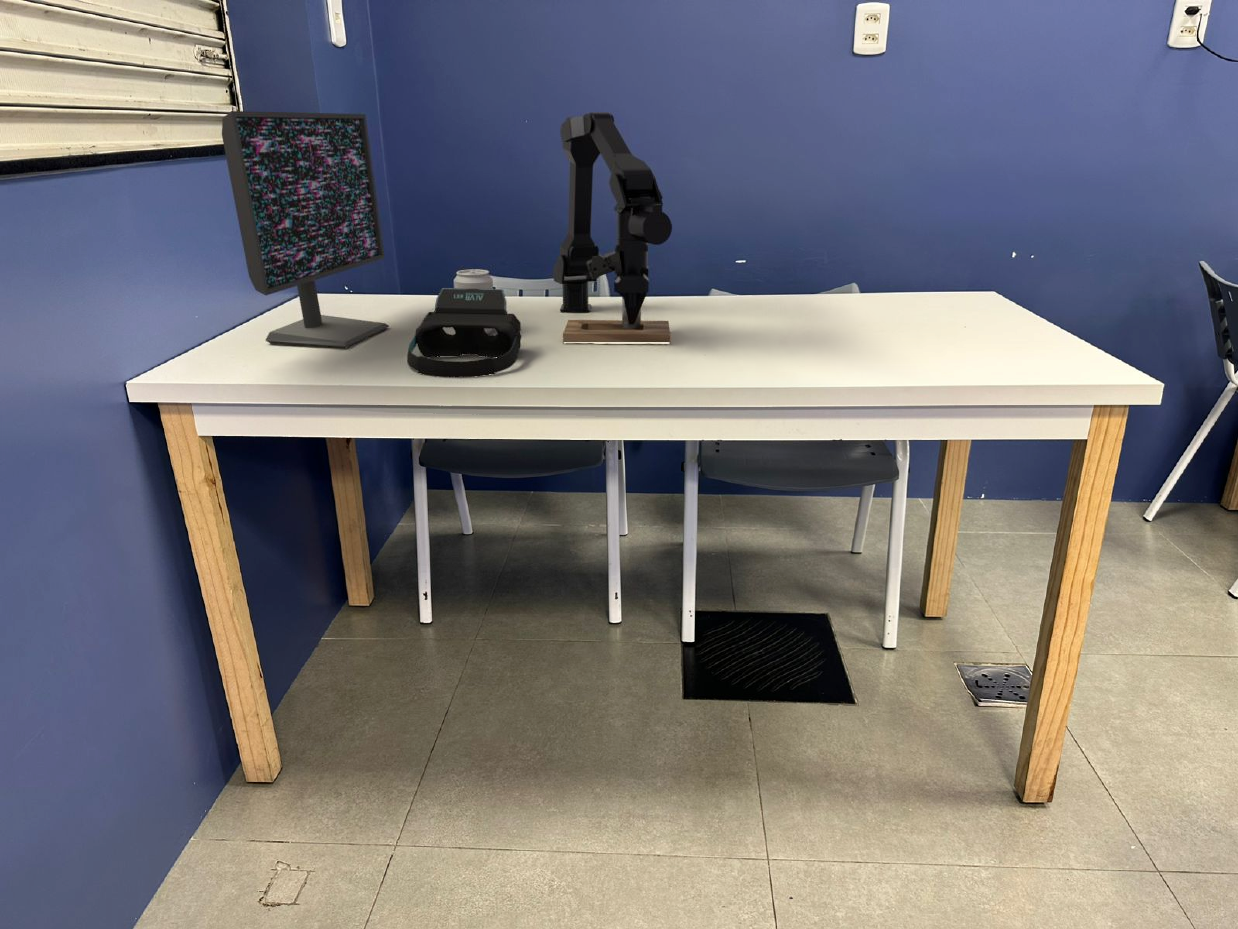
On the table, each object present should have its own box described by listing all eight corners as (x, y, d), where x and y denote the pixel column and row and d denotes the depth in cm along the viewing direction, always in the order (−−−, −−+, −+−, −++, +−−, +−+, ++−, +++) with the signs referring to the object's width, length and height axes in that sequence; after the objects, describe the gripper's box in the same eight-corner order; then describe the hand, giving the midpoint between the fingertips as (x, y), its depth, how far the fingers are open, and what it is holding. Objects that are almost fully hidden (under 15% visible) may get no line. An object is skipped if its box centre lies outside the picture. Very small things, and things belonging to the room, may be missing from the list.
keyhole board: (568, 329, 172) (568, 319, 171) (668, 330, 171) (668, 320, 171) (563, 343, 161) (562, 333, 160) (670, 344, 160) (670, 334, 160)
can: (453, 336, 166) (449, 273, 162) (461, 327, 173) (457, 267, 169) (491, 336, 166) (488, 274, 162) (498, 328, 173) (495, 267, 169)
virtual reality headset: (526, 340, 160) (524, 289, 154) (511, 393, 141) (508, 336, 136) (426, 338, 160) (421, 287, 154) (398, 390, 141) (391, 333, 136)
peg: (622, 330, 167) (622, 288, 164) (640, 330, 167) (641, 289, 164) (621, 334, 164) (622, 292, 161) (640, 334, 164) (641, 292, 161)
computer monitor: (309, 367, 144) (274, 110, 130) (222, 362, 147) (179, 110, 133) (416, 315, 184) (399, 114, 169) (347, 312, 187) (324, 113, 172)
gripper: (592, 232, 168) (592, 311, 174) (585, 244, 151) (586, 332, 156) (648, 232, 168) (647, 312, 174) (649, 245, 150) (647, 333, 156)
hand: (631, 321), depth 165 cm, fingers closed on peg, 4 cm apart
